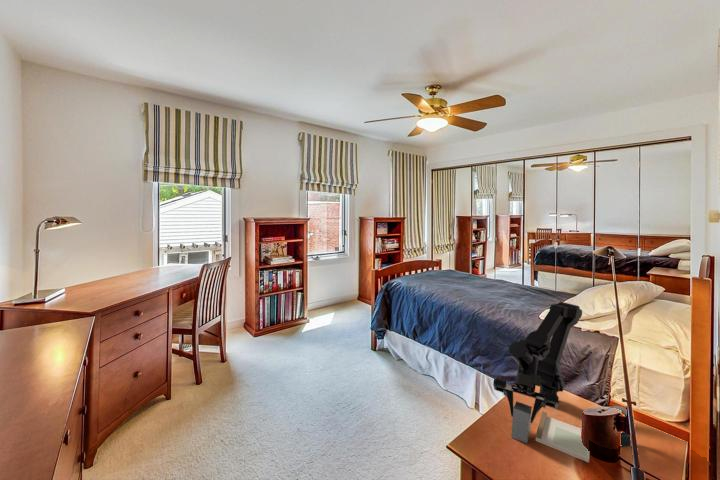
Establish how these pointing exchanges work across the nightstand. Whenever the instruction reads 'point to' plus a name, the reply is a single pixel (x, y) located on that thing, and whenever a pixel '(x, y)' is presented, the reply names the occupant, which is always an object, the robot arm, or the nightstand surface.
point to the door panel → (561, 437)
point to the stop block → (521, 422)
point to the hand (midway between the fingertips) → (521, 419)
